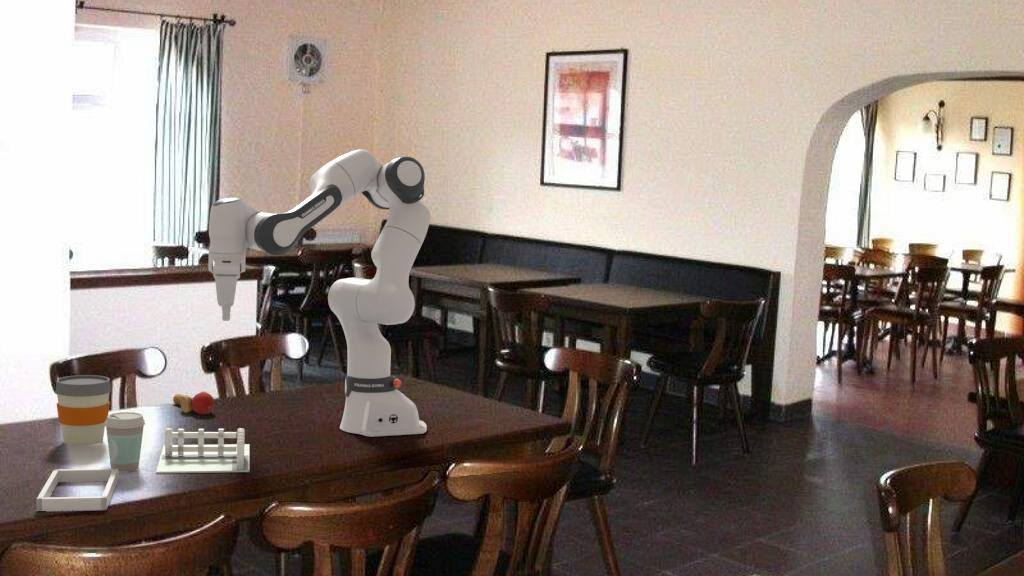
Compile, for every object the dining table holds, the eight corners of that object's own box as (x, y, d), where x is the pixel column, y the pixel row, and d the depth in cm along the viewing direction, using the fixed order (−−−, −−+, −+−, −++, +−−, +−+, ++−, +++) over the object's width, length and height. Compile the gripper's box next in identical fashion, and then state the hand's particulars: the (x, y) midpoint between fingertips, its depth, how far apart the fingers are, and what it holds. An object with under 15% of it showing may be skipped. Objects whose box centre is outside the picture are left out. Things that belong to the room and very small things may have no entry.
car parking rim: (118, 479, 261) (118, 468, 261) (106, 510, 240) (106, 497, 239) (54, 480, 258) (54, 469, 258) (36, 511, 237) (36, 499, 237)
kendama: (162, 411, 335) (193, 414, 321) (165, 388, 335) (195, 390, 322) (188, 413, 340) (219, 416, 326) (191, 390, 340) (222, 392, 327)
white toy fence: (244, 453, 284) (245, 428, 283) (244, 455, 282) (244, 430, 281) (165, 453, 281) (165, 428, 280) (164, 455, 279) (164, 430, 279)
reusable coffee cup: (121, 438, 296) (121, 378, 295) (88, 450, 285) (87, 386, 283) (78, 433, 301) (78, 373, 299) (43, 443, 289) (43, 381, 287)
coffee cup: (109, 463, 274) (109, 411, 272) (148, 464, 275) (148, 411, 273) (100, 473, 265) (100, 419, 264) (140, 474, 266) (140, 420, 265)
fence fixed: (237, 457, 282) (237, 430, 281) (244, 457, 282) (244, 430, 281) (236, 469, 271) (236, 441, 270) (243, 469, 271) (244, 441, 270)
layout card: (249, 445, 295) (249, 443, 295) (249, 471, 271) (249, 469, 271) (163, 446, 290) (163, 444, 290) (156, 473, 267) (156, 471, 267)
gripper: (214, 259, 308) (214, 314, 310) (212, 268, 288) (211, 325, 290) (240, 260, 309) (239, 314, 311) (239, 268, 290) (238, 326, 291)
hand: (226, 320), depth 300 cm, fingers closed
